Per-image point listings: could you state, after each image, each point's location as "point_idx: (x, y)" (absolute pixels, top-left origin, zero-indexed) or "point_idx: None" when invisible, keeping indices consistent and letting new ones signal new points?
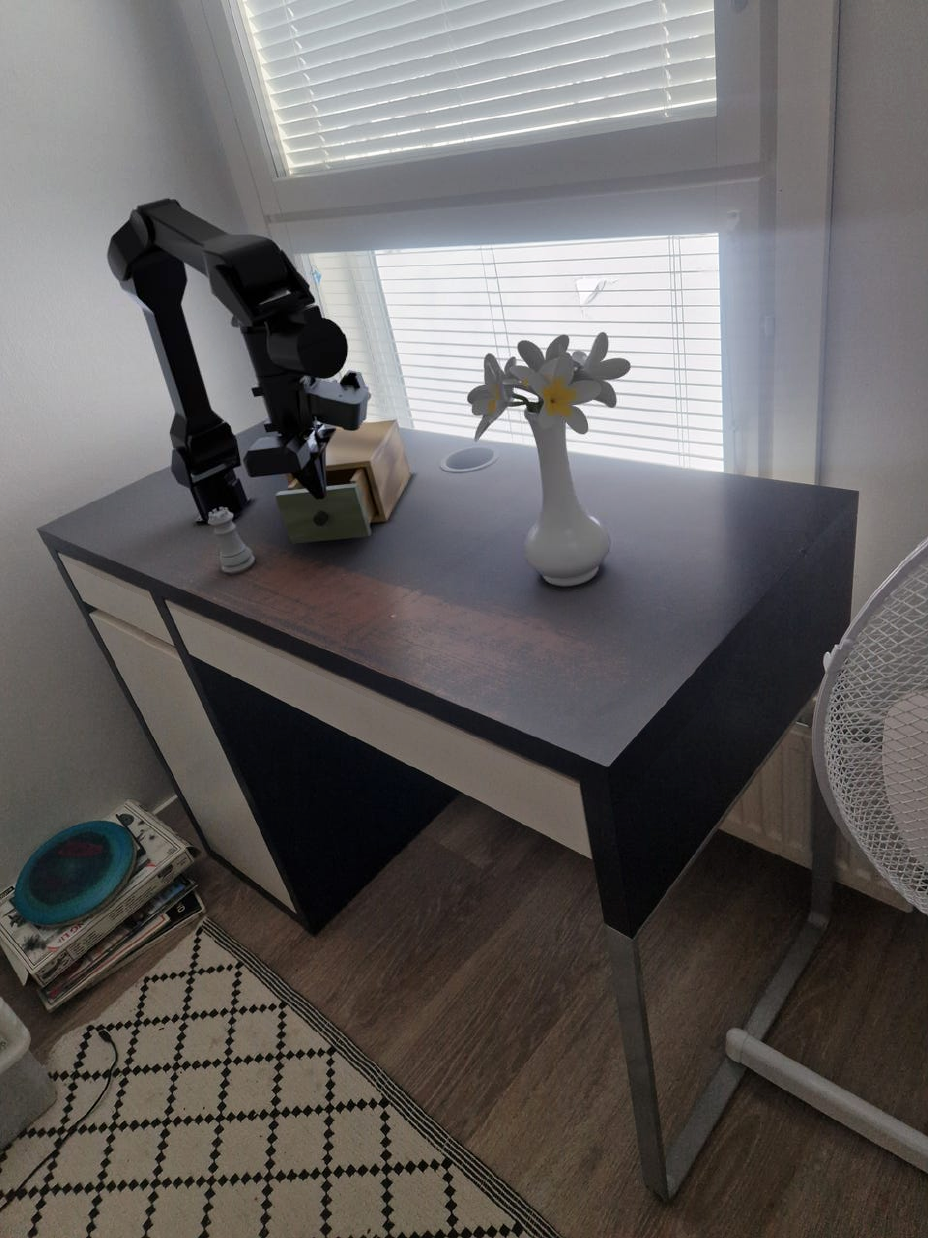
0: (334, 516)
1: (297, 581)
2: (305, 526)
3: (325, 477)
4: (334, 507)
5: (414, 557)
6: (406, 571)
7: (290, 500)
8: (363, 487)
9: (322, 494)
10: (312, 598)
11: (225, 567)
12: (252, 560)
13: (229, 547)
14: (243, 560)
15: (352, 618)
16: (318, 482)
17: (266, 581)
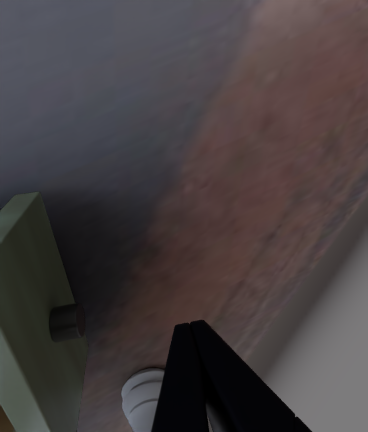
0: (45, 294)
1: (204, 269)
2: (72, 344)
3: (172, 388)
4: (36, 307)
5: (110, 19)
6: (183, 21)
7: (64, 427)
8: None
9: (213, 332)
10: (266, 213)
11: None
12: (145, 374)
13: None
14: None
15: (354, 95)
16: (264, 385)
17: None
